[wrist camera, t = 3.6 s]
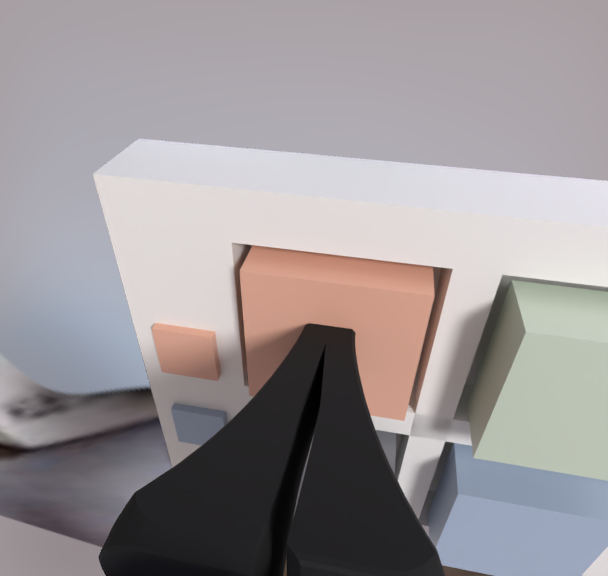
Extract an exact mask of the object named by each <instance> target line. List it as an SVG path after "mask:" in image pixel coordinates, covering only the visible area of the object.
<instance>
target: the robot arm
mask: <svg viewBox="0 0 608 576" xmlns="http://www.w3.org/2000/svg"><path fill="white" fill-rule="evenodd" d="M355 334H356V333H355V332H354V330H353V329H349V328H341V327H334V326H327V325H320V324H312V323H308V324H307V325H305V327H304V329H303V331H302V333H301V334H300V336H299V338H298V339H297V341H296V343H295V344H294V346H293V347H292V349H291V350H290V352H289V353H288V355H287V356H286V357H285V359H284V360H283V361H282V363H281V364H280V365H279V367H278V368H277V369H276V371H275V372H274V373H273V375H272V376H271V377H270V378H269V380H268V381H267V382H266V383H265V384H264V385H263V387H262V388H261V389H260V390H259V391H258V392H257V394H256V395H255V396H254V397H253V398H252V399H251V400H250V401H249V402H248V404H247V405H246V406H245V407H244V408H243V409H242V410H241V411H240V412H239V413H238V414H237V415H236V416H235V417H234V418H233V419H232V420H230V421H229V422H228V423H227V424H226V425H225V426H224V427H223V428H222V429H221V430H219V431H218V432H217V433H216V434H215V435H214V436H213V437H211V438H210V439H209V440H208V441H207V442H206V443H204V444H203V445H202V446H201V447H199V448H198V449H197V450H195V451H194V452H193V453H191V454H190V455H189V456H187V457H186V458H185V459H184V460H182V461H181V462H180V463H178V464H177V465H176V466H174V467H173V468H171V469H170V470H168V471H167V472H165V473H164V474H162V475H161V476H159V477H158V478H156V479H155V480H153V481H152V482H150V483H149V484H147V485H146V486H144V487H143V488H141V489H139V490H138V491H136V492H135V493H134V495H133V496H132V497H131V499H130V500H129V502H128V503H127V505H126V506H125V508H124V509H123V511H122V512H121V514H120V515H119V517H118V518H117V520H116V522H115V524H114V525H113V527H112V529H111V531H110V533H109V536H108V538H107V540H106V542H105V544H104V546H103V548H102V550H101V552H100V555H99V561H100V564H101V567H102V569H103V571H104V573H105V575H106V576H283V573H284V567H285V562H286V556H287V576H445V574H444V570H443V567H442V564H441V561H440V557H439V554H438V551H437V549H436V548H435V546H434V544H433V543H432V541H431V540H430V538H429V536H428V535H427V533H426V532H425V530H424V528H423V527H422V525H421V523H420V522H419V520H418V518H417V516H416V515H415V513H414V511H413V509H412V507H411V506H410V504H409V502H408V500H407V498H406V497H405V495H404V493H403V491H402V489H401V487H400V485H399V482H398V480H397V478H396V476H395V474H394V472H393V470H392V468H391V466H390V464H389V462H388V460H387V457H386V455H385V453H384V450H383V448H382V445H381V443H380V440H379V438H378V435H377V433H376V430H375V427H374V424H373V421H372V418H371V415H370V412H369V409H368V406H367V403H366V399H365V395H364V392H363V387H362V383H361V379H360V375H359V370H358V364H357V357H356V349H355ZM313 436H314V437H313ZM312 439H313V441H312ZM311 443H312V445H311ZM310 446H311V450H310ZM309 450H310V454H309V458H308V463H307V467H306V471H305V475H304V479H303V483H302V487H301V491H300V495H299V499H298V503H297V507H296V501H297V496H298V491H299V487H300V482H301V478H302V474H303V471H304V467H305V464H306V460H307V457H308V453H309ZM295 507H296V510H295ZM294 512H295V514H294ZM293 517H294V518H293Z"/></svg>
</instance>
